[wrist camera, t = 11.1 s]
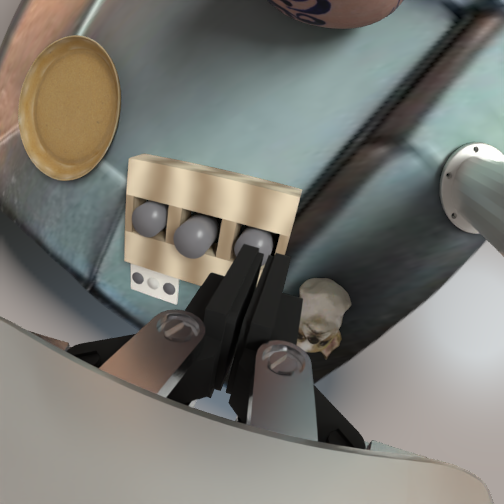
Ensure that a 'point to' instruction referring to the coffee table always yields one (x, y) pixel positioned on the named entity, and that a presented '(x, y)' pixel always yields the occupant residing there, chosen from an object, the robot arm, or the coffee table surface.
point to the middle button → (196, 235)
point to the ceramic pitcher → (337, 11)
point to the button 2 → (257, 241)
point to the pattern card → (154, 284)
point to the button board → (206, 202)
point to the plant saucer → (69, 107)
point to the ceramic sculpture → (321, 315)
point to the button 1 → (150, 218)
